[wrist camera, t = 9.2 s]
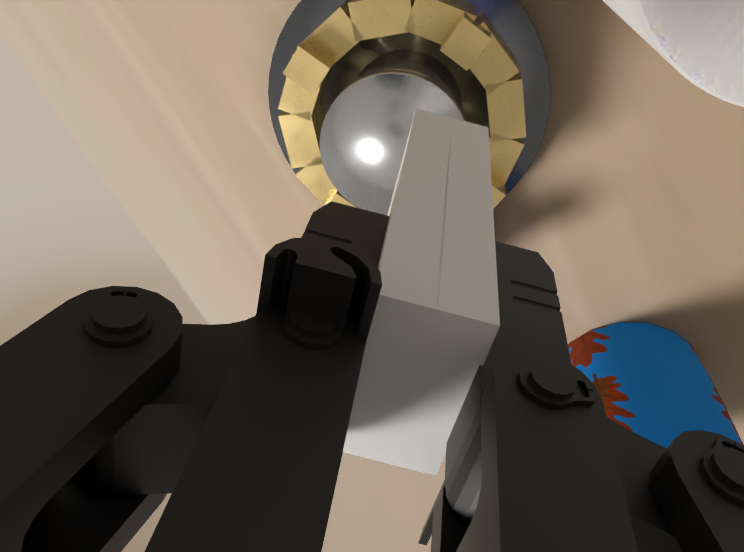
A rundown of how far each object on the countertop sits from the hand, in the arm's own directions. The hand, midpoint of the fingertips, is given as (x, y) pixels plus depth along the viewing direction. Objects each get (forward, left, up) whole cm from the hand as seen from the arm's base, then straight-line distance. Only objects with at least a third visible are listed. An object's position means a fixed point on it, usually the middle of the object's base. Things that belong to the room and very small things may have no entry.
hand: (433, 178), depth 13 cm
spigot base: (+6, -1, -25) cm, 26 cm away
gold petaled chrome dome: (+9, 0, -23) cm, 25 cm away
